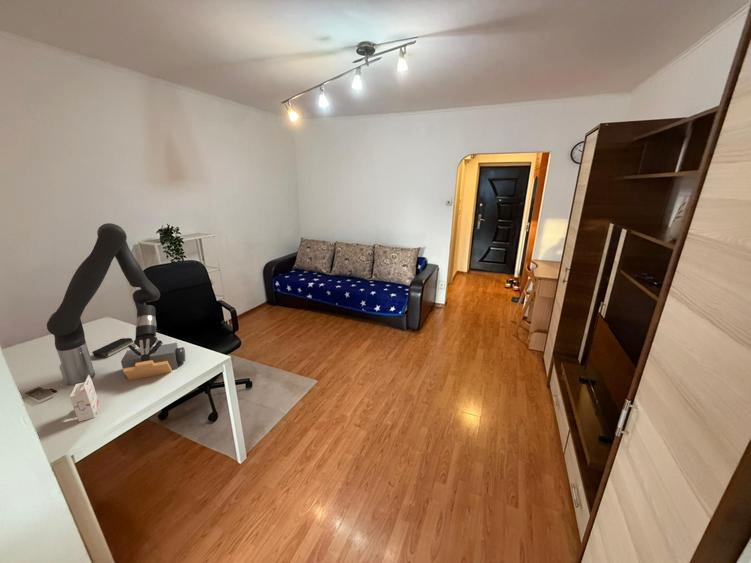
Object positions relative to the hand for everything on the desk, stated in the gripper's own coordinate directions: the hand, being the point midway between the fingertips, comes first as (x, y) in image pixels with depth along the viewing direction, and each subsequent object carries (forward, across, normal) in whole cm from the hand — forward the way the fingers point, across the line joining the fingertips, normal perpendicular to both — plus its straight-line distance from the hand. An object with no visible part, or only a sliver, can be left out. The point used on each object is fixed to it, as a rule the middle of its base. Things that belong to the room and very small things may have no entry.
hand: (145, 363), depth 131 cm
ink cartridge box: (+17, -17, -3) cm, 24 cm away
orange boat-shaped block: (+3, 0, +9) cm, 10 cm away
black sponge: (-20, -22, +35) cm, 46 cm away
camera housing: (0, +1, +14) cm, 15 cm away
